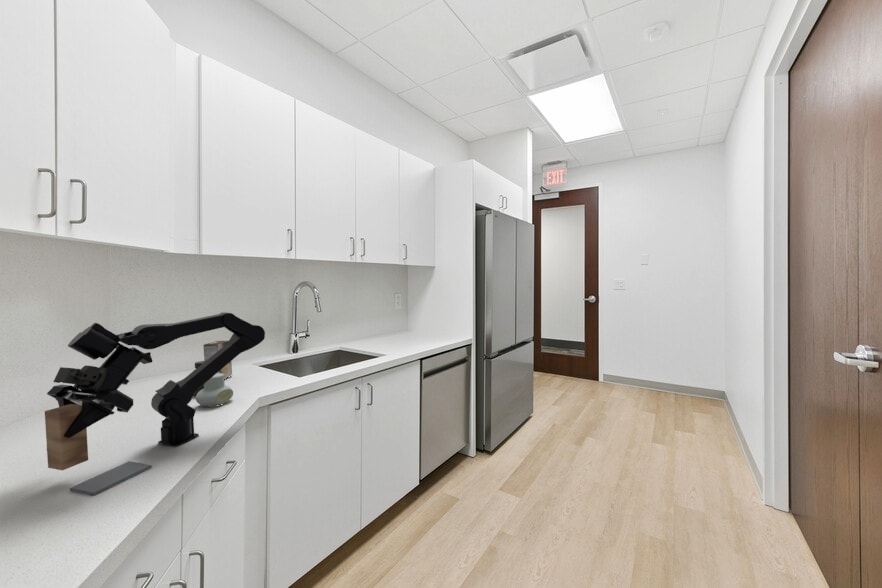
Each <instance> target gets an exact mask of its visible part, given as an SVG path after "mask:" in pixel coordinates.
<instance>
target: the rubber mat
mask: <svg viewBox="0 0 882 588" xmlns="http://www.w3.org/2000/svg"><path fill="white" fill-rule="evenodd" d="M151 468H152V464H148V463H144V462H137V461H131V460H129V461H126V462H123V463H122V464H120V465H119V464H118V465H117V466H115V467H113V468H110V469H107V470H106V471H104V472H102V473H99V474H97V475H95V476H93V477H91V478H89V479H88V478H87V479H86V480H84V481H82V482H79V483H77V484H75V485H73V486H70V487H69V491H71V492H75V493H79V494H85V495H88V496H96V495H98V494H100V493H103V492H104V491H105V492H106V491H107V490H109V489H111V488H113V487H115V486H116V485H118V484H121V483H123V482H125V481H127V480H129V479H131V478H133V477H135V476H137V475H139V474H141V473H143V472H145V471H147V470H150V469H151Z"/></svg>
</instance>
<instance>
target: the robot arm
mask: <svg viewBox="0 0 882 588" xmlns="http://www.w3.org/2000/svg"><path fill="white" fill-rule="evenodd" d="M222 328H225V329H227V331H229V332H231V333H232V335H231V337H230V339H229V340H228V341H229V342H228V343H227V344H226V345H225V346H224V347H222V348H221V349H220V350H219V351H218V352H216V353H215V354H214V355H213V356H211V357H210V358H209V359H208V360H206V361H205V362H204V363H203V364H202V365H200V366H199V367H198V368H197V369H196V368H195V369H194V370H192V371H191V372H190V373H189V374H188V375H187V376H186V377H184V378H183V379H181V380H178V381H177V382H175V381H173V380H171V379H170V380H168V381H167V382H166V383H165V384H164V385H163V386H162V387H161V388H158V389H156V390H155V394H154V395H153V396H152V398H151V404H150V405H151V408H152V409H153V410H154V411H156V412H157V413H158V414H159V415H161V417H164V419H163V420H161V427H160V438H161V439H160V440H159V441H157V443H158V445H165V446H173V447H178V446H180V445H182V444H184V443H186V442H189V441H191V440H193V439H195V438H197V437H199V433H195V424H194V423H195V422H194V421H195V420H194V417H195V414H196V412H197V410H196V409H195V408H193V407H191V406H190V405H189V403H190V402H191V401H192V399H193V397H195V396H194V394H195V392H196V391H197V390H198V389H199V388H200V387H201V386H202V385H204V384H205V383H206V382H207V381H208V380H209V379H211V378H212V377H213V376H214V375H215V374H216V373H218V372H219V371H220V370H221V369H222V368H224V367H225V366H226V365H227V364H228V363H229V362H232V361H233V360H234V359H236V358H237V356H239V355H240V354H242V353H244V352H246V351H248V350H250V349H253V348H254V347H256V346H258V345H260V344H261V343H262V342H263V341H264V340H265V338H266V337H265V336H266V331H265V329H264V328H263V327H262V326H260V325H256V324H252V323H250V322H248V321H246V320H244V319H241V318H240V317H238V316H236V315H235V314H234V313H231V312H225V311H224V312H223V311H222V312H220V313H218V314H217V313H216V314H213V315H209V316H203V317H198V318H197V317H196V318H194V319H188V320H183V321H178V322H174V323H173V322H171V323H150V324H149V323H148V324H140V325H137V326H135V327H134V328H133V329H132V331H131V330H130V331H126V332H123V333H122V332H121V333H119V334H116V333H113V331H110V330H108V329H107V328H105V327H104V326H103V325H101V324H100V323H98V322H93V323H92V324H91V325H90V326H88V327H87V328H85V329H84V330H82V331H80V332H79V333H77V334H76V335H75V336H74V338H72V339H71V340H70V341H69V343H68V344H67V348H71V349H72V350H74V351H76V352H78V353H81V354H82V355H84V356H86V357H88V358H90V359H92V360H97V359H98V358H100V359H105V358H107V359H105V360H104V362H103V363H102V364H101V365H100V366H99V367H98V366H93V365H84V366H83V367H81V368H75V367H74V368H73V367H64V366H63V367H61V366H60V367H59V369H58V371H57V373H56V376H55V377H54V379H53V383H55V384H57V383H58V384H57V385H53V386H52V387H51V389H50V390H48V391H47V392H46V395H47V396H49V397H51V398H54V399H55V401H57V403H58V407H62V406H65V405H69V404H76V405H82V410H81V412H80V413H79V415H78V416H77V417H76V419H75V420H74V421H73V423H72V424H71V425H70V427H69V428H68V430H67V431H66V433H65V434H64V437H67V438H70V437H72V436H74V435H75V434H77V433H79V432H80V431H82V430H84V429H85V428H89V427H91V426H92V425H94V424H95V423H97V422H99V421H101V420H103V419H104V418H105V419H106V418H107V417H109V416H112V415H114V414H115V411H113V410H114V408H116V411H117V412H120V413H129V411H130V410H131V409H132V407H133V406H134V398H133V397H130V396H128V395H127V394H125V393H123V392H121V391H120V390H118V389H119V388H120V387H121V385H126V386H127V385H128V383H129V382H130V380H129V379H128V377H130V375H131V373H132V372H133V371H134V370H135V369H136V368H137V366H138V365H139V364H140V363H141V364H143V365H146V364H151V363H153V358H152V355H151V354H152V353H151V351H149V352H143V351H141V350H139V349H138V348H141V349H144V350H154V349H157V348H160V347H163V346H165V345H168V344H169V343H171V342H173V341H175V340H178V339H180V338H184V337H188V336H191V335H196V334H200V333H204V332H209V331H212V330H213V331H214V330H218V329H222ZM121 343H122V344H121ZM123 344H125V345H126V346H125V345H123ZM128 346H133V347H128ZM134 346H137V347H138V348H136V347H134ZM60 383H62V384H60ZM69 384H70V385H69Z"/></svg>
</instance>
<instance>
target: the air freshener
mask: <svg viewBox="0 0 882 588" xmlns="http://www.w3.org/2000/svg"><path fill="white" fill-rule="evenodd" d="M233 395H234V391H233V389H232V387H230V386H228V385H225V380H224V374H222V373H216V374H215V375H214V376H213V377H212V378H211V379H209V380H208V381H207V382H206V383H205V384H204V389H202V390H200V391H199V392H198V393H197V395H196V396H195V401H196V403H197V404H199V405H200V406H203V407H208V406H211V407H218V406H217V405H220V406H222V405H221V404H223V405H224V404H225V403H227V402H228V401H230V400H231V399H232V397H233Z"/></svg>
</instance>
